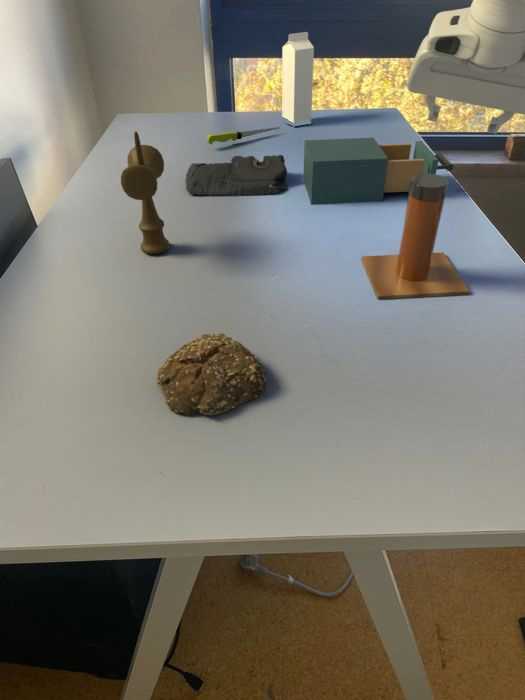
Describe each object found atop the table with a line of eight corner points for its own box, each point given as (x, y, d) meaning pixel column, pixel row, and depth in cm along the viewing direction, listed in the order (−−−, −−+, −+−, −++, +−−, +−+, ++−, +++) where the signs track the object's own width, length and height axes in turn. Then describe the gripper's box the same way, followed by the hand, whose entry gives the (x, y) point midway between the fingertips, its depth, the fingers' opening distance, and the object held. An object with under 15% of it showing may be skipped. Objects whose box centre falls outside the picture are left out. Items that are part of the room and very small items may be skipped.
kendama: (174, 235, 94) (158, 121, 82) (170, 262, 87) (151, 140, 74) (142, 237, 94) (120, 122, 82) (134, 263, 87) (110, 142, 74)
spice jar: (423, 263, 84) (441, 172, 74) (433, 280, 80) (454, 186, 70) (391, 265, 84) (406, 174, 74) (400, 282, 80) (416, 188, 70)
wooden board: (442, 255, 87) (443, 252, 87) (469, 294, 78) (470, 291, 78) (360, 259, 87) (361, 256, 86) (377, 299, 77) (378, 296, 77)
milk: (311, 124, 145) (315, 33, 131) (293, 128, 143) (295, 35, 128) (299, 119, 149) (301, 30, 135) (281, 122, 147) (282, 32, 132)
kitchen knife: (277, 137, 140) (278, 125, 138) (280, 138, 139) (281, 127, 138) (206, 147, 130) (206, 134, 128) (208, 148, 129) (208, 136, 127)
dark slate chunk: (189, 170, 119) (187, 149, 116) (284, 167, 120) (284, 146, 117) (183, 197, 108) (180, 175, 105) (288, 194, 108) (289, 172, 105)
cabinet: (368, 177, 114) (373, 137, 109) (382, 201, 104) (388, 158, 99) (303, 180, 114) (304, 140, 108) (311, 204, 104) (312, 161, 98)
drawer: (434, 171, 114) (440, 139, 109) (452, 192, 105) (460, 158, 100) (355, 175, 113) (358, 143, 109) (366, 196, 104) (370, 162, 100)
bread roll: (224, 338, 71) (222, 308, 68) (280, 387, 63) (280, 356, 60) (140, 376, 65) (133, 346, 62) (190, 436, 57) (185, 404, 54)
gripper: (576, 37, 70) (530, 125, 82) (425, 11, 73) (403, 99, 85) (573, 64, 67) (527, 151, 79) (417, 36, 70) (395, 123, 82)
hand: (461, 124), depth 82 cm, fingers open, 8 cm apart
